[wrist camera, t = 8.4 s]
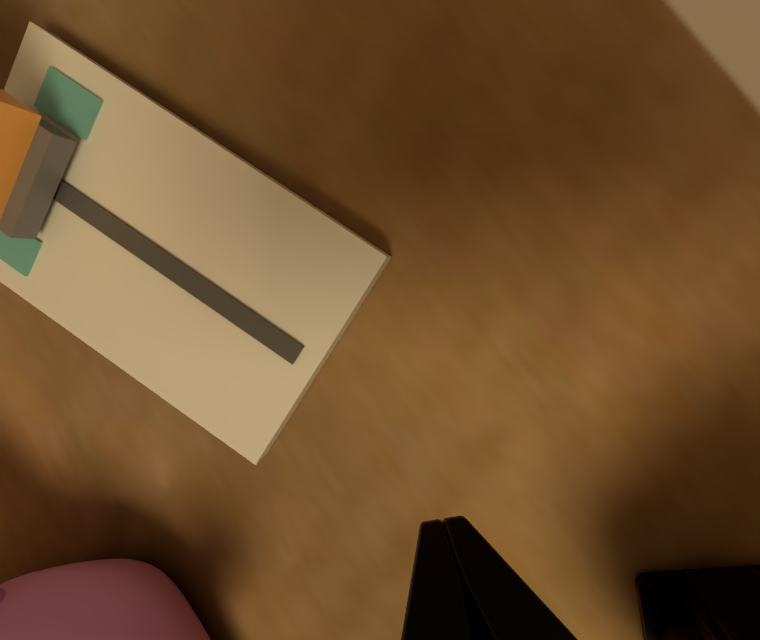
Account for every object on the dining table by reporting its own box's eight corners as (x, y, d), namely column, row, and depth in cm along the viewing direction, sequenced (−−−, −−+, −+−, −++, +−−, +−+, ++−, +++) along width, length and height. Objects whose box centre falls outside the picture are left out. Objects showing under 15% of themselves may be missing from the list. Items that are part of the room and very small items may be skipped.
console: (392, 256, 20) (386, 256, 18) (268, 451, 22) (253, 466, 20) (59, 37, 21) (25, 18, 19) (-23, 243, 23) (-59, 242, 22)
